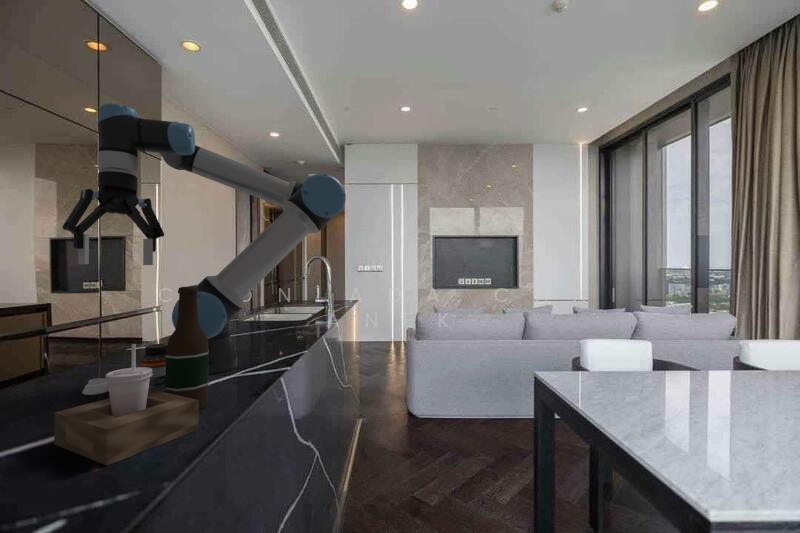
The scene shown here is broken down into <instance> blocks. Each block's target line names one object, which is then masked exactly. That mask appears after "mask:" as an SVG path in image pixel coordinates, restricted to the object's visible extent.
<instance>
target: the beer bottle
mask: <svg viewBox="0 0 800 533" xmlns="http://www.w3.org/2000/svg"><path fill="white" fill-rule="evenodd" d="M177 293H178V300H179V307H178V321H177V326H176V329H175V328H174V331H173V332H172V334H171V335H170V337H169V339H168V342H167V343H166V344H167V348H166V393H169V394H174V395H178V396H183V397H188V398H192V399H197V400H199V411H201V410H203V409H207V406H208V402H209V376H210V374H209V349H208V340H207V337H206V335H205V333H204V331H203V330H202V329H201V327H200V325H199V320H198V306H197V293H198V289H197V287H188V286H181V287H178V290H177Z"/></svg>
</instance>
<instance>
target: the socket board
mask: <svg viewBox="0 0 800 533" xmlns="http://www.w3.org/2000/svg"><path fill="white" fill-rule="evenodd" d="M53 412H54V411H53ZM199 414H200V410H199V400H197V399H192V398H188V397H183V396H178V395H174V394H169V393H165V392H160V391H156V390H151V389H148V396H147V403H146V409H144V410H140V411H137V412H134V413H131V414H127V415H124V416H121V417H114V416H113V415H112V408H111V401H110V397H108V398H104V399H101V400H98V401H97V400H96V401H94V402H90V403H85V404H83V405H82V404H81V405H77V406H73V407H70V408H66V409H63V410H60V411H55V412H54V415H53V416H54V417H53V419H54V420H53V421H54V429H53V430H54V433H53V434H54V436H53V437H54V438H53V439H54V443H53V444H54V446H57V447H60V448H62V449H65V450H66V451H69V452H72V453H74V454H76V455H79V456H81V457H85V458H86V459H88V460H91V461H94V462H97V463H99V464H101V465H104V466H110V465H113V464H115V463H117V462H119V461H123V460H125V459H127V458H129V457H132V456H135V455H138V454H139V453H142V452H145V451H148V450H150V449H152V448H153V449H154V448H155V447H157V446H160V445H163V444H165V443H168V442H170V441H173V440H175V439H177V438H178V439H179V438H180V437H183V436H185V435H188V434H191V433H193V432H195V431H199V429H200V428H199V427H200V422H199V421H200V415H199Z"/></svg>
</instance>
